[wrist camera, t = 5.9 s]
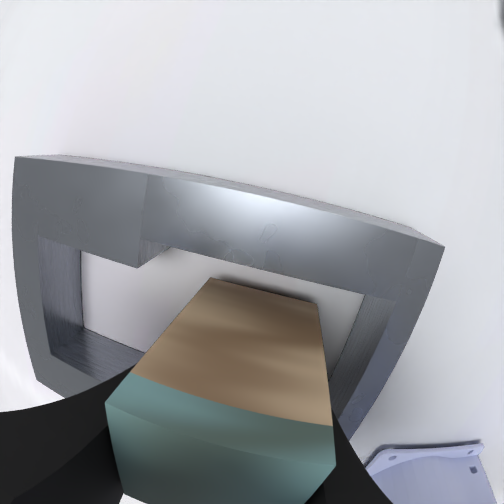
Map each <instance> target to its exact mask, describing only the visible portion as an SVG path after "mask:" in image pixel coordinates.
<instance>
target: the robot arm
mask: <svg viewBox="0 0 504 504" xmlns="http://www.w3.org/2000/svg"><path fill="white" fill-rule="evenodd" d="M136 364H137V363H136ZM136 364H135V365H136ZM135 365H133V366H131V367H130V368H128V369H126V370H124V371H123V372H121V373H119V374H117V375H116V376H114V377H112V378H110V379H108V380H106V381H104V382H102V383H100V384H98V385H96V386H94V387H92V388H90V389H88V390H85V391H83V392H81V393H78V394H76V395H73V396H71V397H68V398H65V399H62V400H59V401H56V402H52V403H49V404H45V405H41V406H37V407H32V408H28V409H23V410H16V411H8V412H0V504H119V502H120V500H121V498H122V495H123V493H124V491H123V487H122V484H121V480H120V476H119V472H118V468H117V464H116V460H115V456H114V451H113V447H112V442H111V437H110V431H109V426H108V420H107V414H106V408H105V401H106V400H107V399H108V398H109V397H110V395H111V394H112V393H113V392H114V391H115V389H116V388H117V387H118V386H119V385H120V383H121V382H122V381H123V380H124V379H125V377H126V376H127V375H128V374H129V373H130V371H131V370H132V369H133V368H134V367H135ZM331 414H332V423H333V434H334V446H335V458H336V466H335V468H334V469H333V470H332V471H331V473H330V474H329V475H328V476H327V478H326V479H325V480H324V481H323V483H322V484H321V485H320V486H319V487H318V489H317V490H316V491H315V492H314V493H313V494H312V496H311V497H310V498H309V499H308V500H307V501H306V502H305V503H304V504H497V502H496V499H495V497H494V494H493V491H492V488H491V486H490V483H489V481H488V478H487V475H486V473H485V471H484V468H483V466H482V463H481V461H480V459H479V456H478V455H479V454H480V453H481V452H482V450H483V449H484V445H483V443H480V444H472V445H464V446H455V447H444V448H428V449H385V450H382V451H380V452H379V453H378V454H377V455H376V456H375V458H374V459H373V460H372V461H371V462H370V463H369V464H368V466H367V467H366V468H365V467H364V466H363V464H362V463H361V461H360V459H359V458H358V456H357V455H356V453H355V451H354V450H353V448H352V446H351V444H350V442H349V441H348V439H347V437H346V435H345V433H344V431H343V429H342V427H341V425H340V423H339V421H338V419H337V417H336V415H335V413H334V411H333V409H332V407H331Z"/></svg>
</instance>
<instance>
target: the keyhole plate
mask: <svg viewBox="0 0 504 504" xmlns="http://www.w3.org/2000/svg"><path fill="white" fill-rule="evenodd" d="M12 242H13V258H14V270H15V279H16V287H17V295H18V301H19V307H20V313H21V319H22V324H23V329H24V333H25V338H26V342H27V347H28V351H29V355H30V358H31V362H32V366H33V369H34V373H35V376H36V379H37V380H38V381H39V382H41V383H42V384H44V385H45V386H47V387H48V388H50V389H51V390H53V391H55V392H56V393H58V394H59V395H61V396H63V397H64V398H68V397H71V396H73V395H76V394H78V393H81V392H83V391H85V390H88V389H90V388H92V387H94V386H96V385H98V384H100V383H102V382H104V381H106V380H108V379H110V378H112V377H114V376H116V375H117V374H119V373H121V372H123V371H124V370H126V369H128V368H130V367H131V366H133V365H135V364H136V363H138V362H139V361H140V359H141V358H142V357H143V356H144V355H145V353H143V352H140V351H137V350H135V349H132V348H130V347H127V346H125V345H122V344H120V343H117V342H115V341H113V340H110V339H108V338H106V337H103V336H101V335H99V334H96V333H94V332H92V331H90V330H88V329H85V328H83V316H82V301H81V275H80V250H82V251H85V252H88V253H91V254H94V255H97V256H100V257H103V258H106V259H109V260H112V261H115V262H119V263H122V264H125V265H128V266H131V267H135V268H139V267H140V266H142V265H143V264H145V263H147V262H148V261H150V260H151V259H153V258H154V257H156V256H157V255H159V254H160V253H162V252H164V251H165V250H167V249H168V248H170V247H174V248H178V249H182V250H186V251H190V252H194V253H198V254H202V255H206V256H209V257H213V258H217V259H221V260H225V261H229V262H233V263H237V264H241V265H245V266H249V267H253V268H257V269H261V270H265V271H269V272H273V273H278V274H282V275H286V276H290V277H294V278H298V279H302V280H306V281H310V282H315V283H319V284H323V285H327V286H331V287H336V288H340V289H344V290H348V291H353V292H357V293H361V294H365V297H364V300H363V302H362V305H361V308H360V310H359V313H358V315H357V318H356V321H355V323H354V326H353V328H352V331H351V333H350V335H349V338H348V340H347V343H346V345H345V347H344V350H343V352H342V354H341V357H340V359H339V361H338V363H337V365H336V368H335V370H334V372H333V374H332V376H331V379H330V381H329V383H328V386H329V395H330V404H331V407H332V409H333V411H334V413H335V415H336V417H337V419H338V421H339V423H340V425H341V427H342V429H343V431H344V433H345V435H346V437H347V439H348V441H349V440H350V438H351V437H352V435H353V434H354V433H355V431H356V430H357V428H358V427H359V425H360V424H361V422H362V421H363V419H364V418H365V416H366V415H367V413H368V411H369V410H370V408H371V407H372V405H373V403H374V402H375V400H376V399H377V397H378V395H379V394H380V392H381V390H382V388H383V387H384V385H385V383H386V381H387V380H388V378H389V376H390V374H391V373H392V371H393V369H394V367H395V365H396V363H397V361H398V359H399V357H400V356H401V354H402V352H403V350H404V348H405V346H406V344H407V341H408V339H409V337H410V335H411V333H412V331H413V329H414V327H415V324H416V322H417V320H418V318H419V315H420V313H421V311H422V308H423V306H424V304H425V301H426V299H427V296H428V294H429V291H430V289H431V286H432V283H433V281H434V278H435V275H436V272H437V270H438V267H439V264H440V261H441V258H442V255H443V252H444V249H445V246H443V245H441V244H439V243H438V242H436V241H434V240H432V239H431V238H429V237H427V236H425V235H424V234H422V233H420V232H418V231H416V230H415V229H413V228H411V227H408V226H404V225H401V224H398V223H395V222H391V221H388V220H385V219H381V218H378V217H375V216H371V215H368V214H364V213H361V212H357V211H354V210H350V209H346V208H343V207H339V206H335V205H332V204H328V203H324V202H320V201H316V200H312V199H308V198H304V197H300V196H296V195H292V194H288V193H284V192H279V191H275V190H271V189H266V188H262V187H257V186H253V185H248V184H243V183H239V182H234V181H229V180H224V179H219V178H214V177H209V176H203V175H198V174H193V173H187V172H181V171H176V170H170V169H164V168H158V167H151V166H145V165H138V164H132V163H125V162H117V161H110V160H102V159H94V158H85V157H76V156H67V155H37V156H18V157H15V162H14V173H13V189H12Z"/></svg>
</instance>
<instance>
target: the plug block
mask: <svg viewBox="0 0 504 504" xmlns="http://www.w3.org/2000/svg"><path fill="white" fill-rule="evenodd" d="M105 408H106V414H107V420H108V426H109V431H110V437H111V442H112V447H113V451H114V456H115V460H116V464H117V468H118V472H119V476H120V480H121V484H122V487H123V491H124V494H125V495H128V496H130V497H132V498H135V499H137V500H139V501H142V502H144V503H147V504H304V503H305V502H306V501H307V500H308V499H309V498H310V497H311V496H312V494H313V493H314V492H315V491H316V490H317V489H318V487H319V486H320V485H321V484H322V483H323V481H324V480H325V479H326V478H327V476H328V475H329V474H330V473H331V471H332V470H333V469H334V468H335V466H336V458H335V446H334V434H333V423H332V414H331V404H330V395H329V386H328V378H327V370H326V362H325V355H324V348H323V341H322V334H321V327H320V320H319V314H318V307H317V304H315V303H310V302H306V301H302V300H298V299H294V298H289V297H285V296H281V295H277V294H273V293H269V292H265V291H261V290H257V289H253V288H249V287H245V286H241V285H237V284H233V283H229V282H225V281H222V280H218V279H214V278H209V280H208V281H207V282H206V283H205V284H204V285H203V287H202V288H201V289H200V290H199V291H198V292H197V294H196V295H195V296H194V297H193V298H192V299H191V301H190V302H189V303H188V304H187V305H186V306H185V308H184V309H183V310H182V311H181V312H180V313H179V315H178V316H177V317H176V318H175V319H174V320H173V322H172V323H171V324H170V325H169V326H168V327H167V329H166V330H165V331H164V332H163V333H162V335H161V336H160V337H159V338H158V339H157V340H156V342H155V343H154V344H153V345H152V346H151V348H150V349H149V350H148V351H147V352H146V353H145V355H144V356H143V357H142V358H141V359H140V361H139V362H138V363H137V364H136V365H135V367H134V368H133V369H132V370H131V371H130V373H129V374H128V375H127V376H126V377H125V379H124V380H123V381H122V382H121V383H120V385H119V386H118V387H117V388H116V389H115V391H114V392H113V393H112V394H111V395H110V397H109V398H108V399H107V400H106V401H105Z"/></svg>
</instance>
